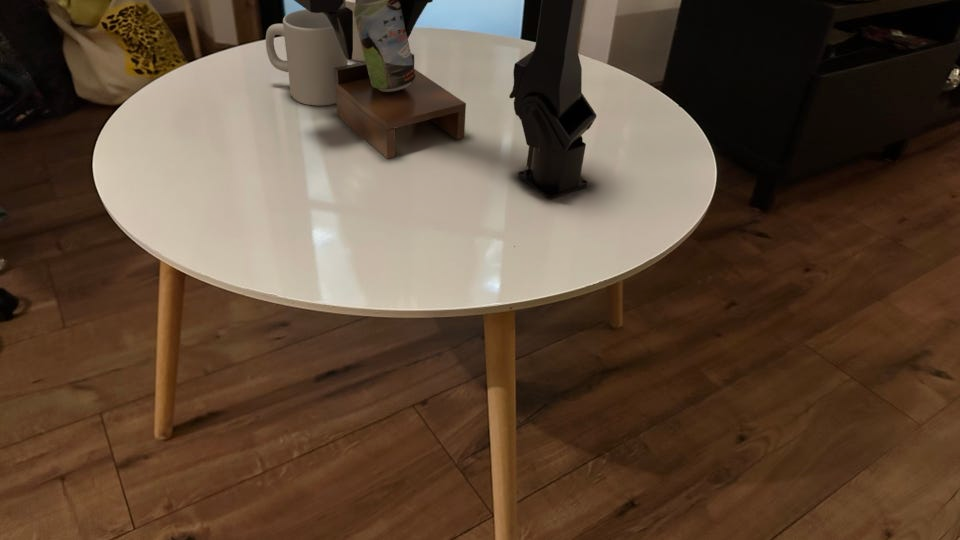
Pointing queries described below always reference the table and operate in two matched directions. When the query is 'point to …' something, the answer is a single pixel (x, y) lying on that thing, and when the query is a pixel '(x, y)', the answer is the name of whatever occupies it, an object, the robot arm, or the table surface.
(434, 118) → the wooden riser stand
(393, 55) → the beverage can
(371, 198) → the table surface
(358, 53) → the dixie cup
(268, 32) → the mug
